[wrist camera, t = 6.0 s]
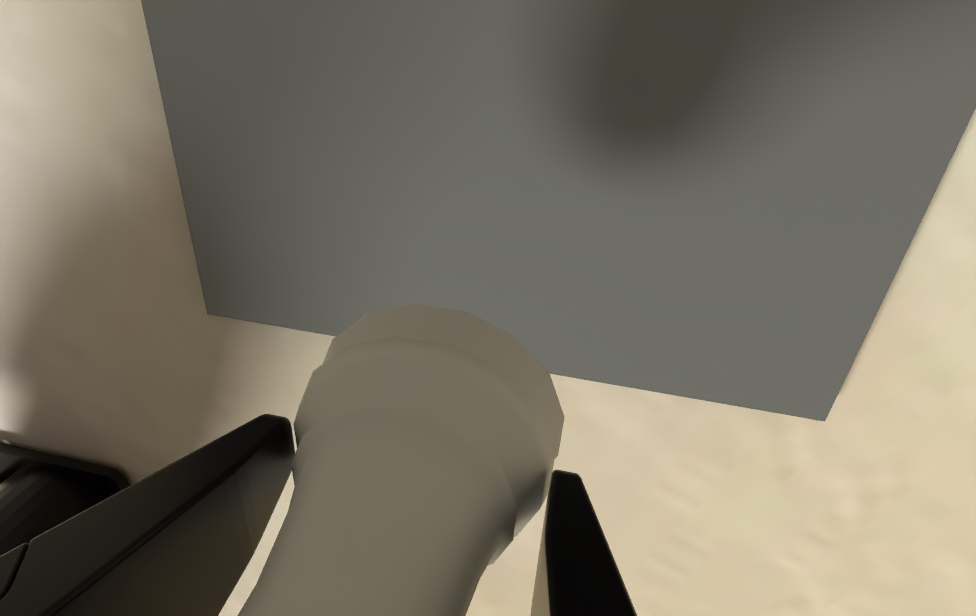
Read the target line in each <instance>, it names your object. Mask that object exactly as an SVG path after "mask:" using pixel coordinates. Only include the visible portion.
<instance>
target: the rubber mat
mask: <svg viewBox="0 0 976 616" xmlns="http://www.w3.org/2000/svg"><path fill="white" fill-rule="evenodd" d="M141 1H142V6H143V11H144V15H145V20H146V25H147V29H148V34H149V39H150V44H151V48H152V53H153V58H154V63H155V67H156V72H157V77H158V82H159V86H160V91H161V96H162V100H163V105H164V110H165V115H166V119H167V124H168V129H169V134H170V138H171V143H172V148H173V152H174V157H175V162H176V167H177V171H178V176H179V181H180V186H181V190H182V195H183V200H184V205H185V209H186V214H187V219H188V223H189V228H190V233H191V238H192V242H193V247H194V252H195V257H196V261H197V266H198V271H199V276H200V280H201V285H202V290H203V294H204V299H205V304H206V309H207V313H208V314H210V315H216V316H222V317H228V318H233V319H239V320H245V321H251V322H256V323H262V324H268V325H274V326H279V327H285V328H291V329H297V330H302V331H308V332H314V333H320V334H325V335H331V336H338V335H339V334H340V333H342V332H343V331H344V330H345V329H347V328H348V327H349V326H351V325H352V324H353V323H354V322H356V321H357V320H358V319H360V318H361V317H362V316H363V315H365V314H367V313H371V312H376V311H380V310H385V309H389V308H394V307H399V306H403V305H408V304H412V303H414V304H421V305H427V306H434V307H440V308H447V309H453V310H460V311H466V312H469V313H470V314H472V315H474V316H476V317H478V318H480V319H482V320H484V321H486V322H487V323H489V324H491V325H493V326H495V327H497V328H499V329H501V330H503V331H505V332H506V333H508V334H510V335H512V336H514V337H516V338H517V339H518V340H519V342H520V343H521V344H522V345H523V346H524V347H525V348H526V349H527V350H528V351H529V353H530V354H531V355H532V356H533V357H534V358H535V359H536V360H537V361H538V363H539V364H540V365H541V366H542V367H543V368H544V369H545V370H546V371H547V372H548V373H550V374H556V375H561V376H567V377H573V378H579V379H584V380H590V381H596V382H602V383H607V384H613V385H619V386H625V387H630V388H636V389H642V390H648V391H653V392H659V393H665V394H671V395H676V396H682V397H688V398H694V399H699V400H705V401H711V402H717V403H722V404H728V405H734V406H740V407H745V408H751V409H757V410H763V411H768V412H774V413H780V414H786V415H791V416H797V417H803V418H809V419H814V420H820V421H825V420H826V418H827V416H828V414H829V412H830V410H831V408H832V405H833V403H834V401H835V399H836V397H837V395H838V393H839V391H840V389H841V387H842V385H843V383H844V381H845V378H846V376H847V374H848V372H849V370H850V368H851V366H852V364H853V362H854V360H855V358H856V356H857V353H858V351H859V349H860V347H861V345H862V343H863V341H864V339H865V337H866V335H867V333H868V331H869V328H870V326H871V324H872V322H873V320H874V318H875V316H876V314H877V312H878V310H879V308H880V306H881V304H882V301H883V299H884V297H885V295H886V293H887V291H888V289H889V287H890V285H891V283H892V281H893V279H894V276H895V274H896V272H897V270H898V268H899V266H900V264H901V262H902V260H903V258H904V256H905V254H906V251H907V249H908V247H909V245H910V243H911V241H912V239H913V237H914V235H915V233H916V231H917V229H918V227H919V224H920V222H921V220H922V218H923V216H924V214H925V212H926V210H927V208H928V206H929V204H930V202H931V199H932V197H933V195H934V193H935V191H936V189H937V187H938V185H939V183H940V181H941V179H942V177H943V174H944V172H945V170H946V168H947V166H948V164H949V162H950V160H951V158H952V156H953V154H954V152H955V150H956V147H957V145H958V143H959V141H960V139H961V137H962V135H963V133H964V131H965V129H966V127H967V125H968V122H969V120H970V118H971V116H972V114H973V112H974V110H975V108H976V0H141Z"/></svg>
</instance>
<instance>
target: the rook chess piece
mask: <svg viewBox="0 0 976 616" xmlns="http://www.w3.org/2000/svg"><path fill="white" fill-rule="evenodd" d="M563 422H564V415H563V412H562V409H561V406H560V403H559V400H558V397H557V394H556V391H555V388H554V385H553V382H552V379H551V376H550V375H549V374H548V372H547V371H546V370H545V369H544V368H543V367H542V366H541V365H540V364H539V363H538V361H537V360H536V359H535V358H534V357H533V356H532V355H531V354H530V353H529V351H528V350H527V349H526V348H525V347H524V346H523V345H522V344H521V343H520V342H519V340H518V339H517V338H516V337H514V336H512V335H510V334H508V333H506V332H505V331H503V330H501V329H499V328H497V327H495V326H493V325H491V324H489V323H487V322H486V321H484V320H482V319H480V318H478V317H476V316H474V315H472V314H470V313H469V312H466V311H460V310H453V309H447V308H440V307H434V306H427V305H421V304H414V303H412V304H408V305H403V306H399V307H394V308H389V309H385V310H380V311H376V312H371V313H367V314H365V315H363V316H362V317H361V318H360V319H358V320H357V321H356V322H354V323H353V324H352V325H351V326H349V327H348V328H347V329H345V330H344V331H343V332H342V333H340V334H339V335H338V336H336V337H335V338H334V339H333V340H332V343H331V345H330V347H329V350H328V352H327V355H326V357H325V360H324V362H323V364H322V365H321V366H320V367H318V368H317V369H316V370H315V371H313V373H312V375H311V378H310V380H309V383H308V385H307V388H306V390H305V393H304V395H303V398H302V400H301V403H300V405H299V408H298V412H297V415H296V418H295V422H294V429H295V436H296V443H297V451H296V453H295V455H294V458H293V460H292V463H291V466H292V472H293V479H294V485H295V487H294V491H293V495H292V499H291V502H290V506H289V510H288V513H287V515H286V518H285V520H284V522H283V524H282V527H281V529H280V531H279V534H278V536H277V538H276V541H275V543H274V545H273V547H272V550H271V552H270V554H269V557H268V559H267V561H266V564H265V566H264V568H263V570H262V573H261V575H260V577H259V580H258V582H257V584H256V586H255V587H254V589H253V591H252V592H251V594H250V596H249V598H248V599H247V601H246V603H245V604H244V606H243V608H242V609H241V611H240V613H239V614H238V616H465V615H466V612H467V610H468V607H469V605H470V602H471V600H472V597H473V595H474V592H475V589H476V587H477V584H478V582H479V579H480V577H481V576H482V574H483V572H484V570H485V569H486V567H487V566H488V565H490V564H493V563H494V562H495V560H496V559H497V558H498V557H499V556H500V555H501V553H502V552H503V551H504V550H505V549H506V548H507V546H508V545H509V544H510V543H511V542H512V541H513V537H515V536H517V535H518V534H519V532H520V531H521V530H522V529H523V528H524V527H525V525H526V524H527V523H528V522H529V521H530V520H531V518H532V517H533V516H534V515H535V514H536V513H537V511H538V510H539V509H540V508H541V506H542V504H543V502H544V500H545V498H546V497H547V495H548V493H549V487H550V481H551V476H552V471H553V465H554V459H555V458H556V457H557V456H558V452H559V446H560V440H561V434H562V428H563Z"/></svg>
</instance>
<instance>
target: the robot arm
mask: <svg viewBox="0 0 976 616" xmlns="http://www.w3.org/2000/svg"><path fill="white" fill-rule="evenodd" d="M294 455H295V448H294V441H293V434H292V427H291V422H290V421H289V419H287V418H285V417H281V416H276V415H270V414H264V415H261V416H259V417H257V418H255V419H253V420H251V421H249V422H248V423H246V424H244V425H242V426H240V427H238V428H236V429H235V430H233V431H231V432H229V433H227V434H225V435H224V436H222V437H220V438H218V439H216V440H214V441H212V442H211V443H209V444H207V445H205V446H203V447H201V448H200V449H198V450H196V451H194V452H192V453H190V454H188V455H187V456H185V457H183V458H181V459H179V460H177V461H175V462H174V463H172V464H170V465H168V466H166V467H164V468H163V469H161V470H159V471H157V472H155V473H153V474H151V475H150V476H148V477H146V478H144V479H142V480H140V481H139V482H137V483H135V484H133V485H131V486H129V485H128V483H127V480H126V478H125V476H124V475H123V474H122V473H121V472H119V471H117V470H115V469H112V468H108V467H103V466H99V465H94V464H90V463H85V462H80V461H76V460H71V459H67V458H62V457H58V456H53V455H49V454H44V453H39V452H35V451H30V450H26V449H21V448H17V447H12V446H8V445H3V444H0V616H218V615H219V613H220V611H221V610H222V608H223V606H224V605H225V603H226V601H227V599H228V598H229V596H230V594H231V593H232V591H233V589H234V587H235V586H236V584H237V582H238V581H239V579H240V577H241V575H242V574H243V572H244V570H245V569H246V567H247V565H248V563H249V561H250V560H251V558H252V556H253V554H254V552H255V550H256V548H257V546H258V544H259V542H260V540H261V538H262V535H263V533H264V531H265V529H266V527H267V524H268V522H269V520H270V518H271V515H272V513H273V511H274V509H275V507H276V504H277V502H278V500H279V498H280V496H281V493H282V491H283V489H284V487H285V485H286V482H287V480H288V478H289V476H290V473H291V471H292V466H291V463H292V460H293V458H294ZM531 616H637V614H636V612H635V609H634V607H633V604H632V602H631V599H630V597H629V594H628V592H627V589H626V587H625V585H624V582H623V580H622V577H621V575H620V572H619V570H618V567H617V565H616V563H615V560H614V558H613V555H612V553H611V550H610V548H609V545H608V543H607V540H606V538H605V536H604V533H603V531H602V528H601V526H600V523H599V521H598V518H597V516H596V513H595V511H594V509H593V506H592V504H591V501H590V499H589V496H588V494H587V491H586V489H585V486H584V484H583V482H582V479H581V477H580V476H579V475H578V474H576V473H571V472H566V471H561V470H554V471H553V472H552V476H551V481H550V487H549V493H548V499H547V505H546V511H545V517H544V524H543V531H542V538H541V544H540V551H539V558H538V565H537V572H536V579H535V586H534V593H533V600H532V608H531Z"/></svg>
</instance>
